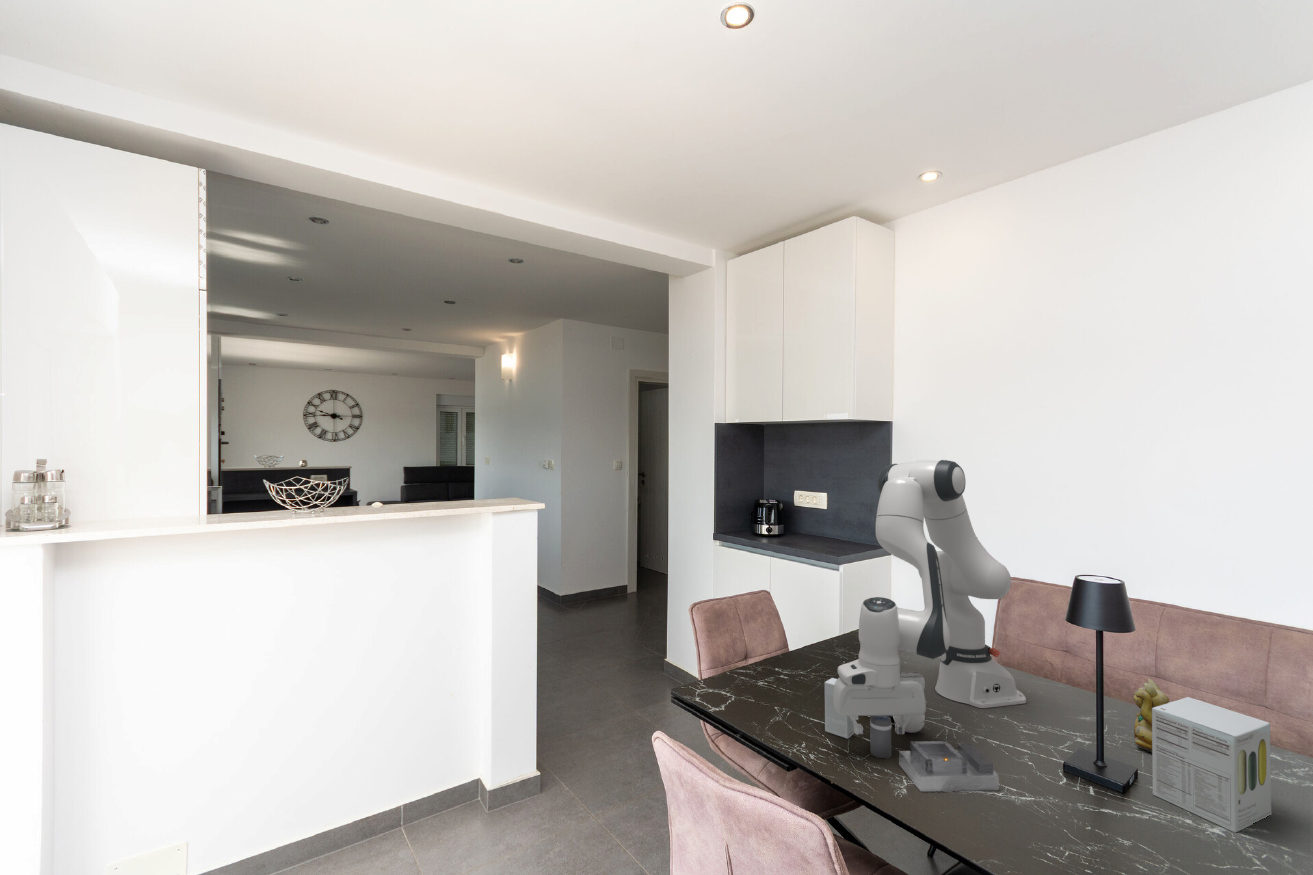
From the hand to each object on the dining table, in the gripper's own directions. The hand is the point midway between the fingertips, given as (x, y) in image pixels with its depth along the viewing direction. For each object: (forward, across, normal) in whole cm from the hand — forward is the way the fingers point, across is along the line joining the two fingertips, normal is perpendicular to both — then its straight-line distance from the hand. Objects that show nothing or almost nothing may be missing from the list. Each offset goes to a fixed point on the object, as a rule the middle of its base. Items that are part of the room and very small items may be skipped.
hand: (879, 733), depth 134 cm
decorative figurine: (+4, -64, 0) cm, 65 cm away
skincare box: (+5, +6, -10) cm, 12 cm away
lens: (+4, 0, 0) cm, 5 cm away
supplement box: (+4, -56, +21) cm, 60 cm away
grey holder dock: (+4, -10, +10) cm, 15 cm away
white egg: (+5, -12, -11) cm, 17 cm away
